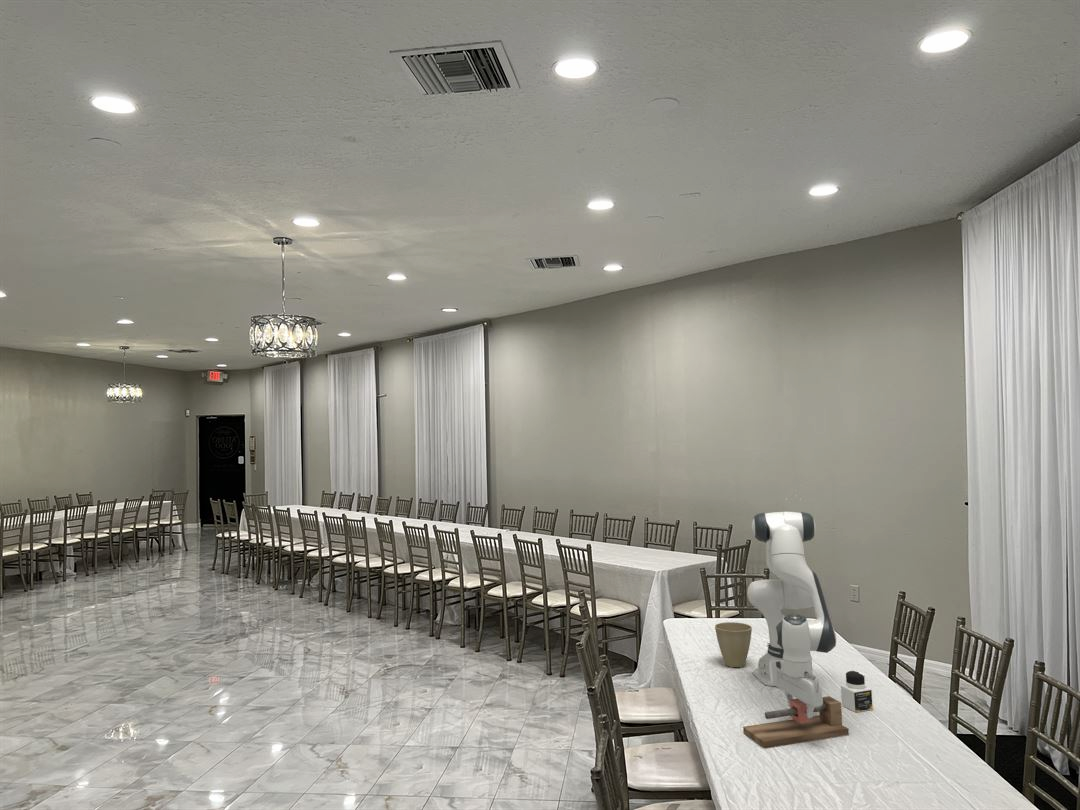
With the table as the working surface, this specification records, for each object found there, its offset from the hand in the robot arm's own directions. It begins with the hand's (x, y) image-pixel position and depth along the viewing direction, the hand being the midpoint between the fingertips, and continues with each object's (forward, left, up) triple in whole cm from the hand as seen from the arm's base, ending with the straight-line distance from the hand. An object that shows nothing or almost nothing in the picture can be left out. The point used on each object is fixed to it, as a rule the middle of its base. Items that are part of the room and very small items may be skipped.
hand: (800, 711), depth 228 cm
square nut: (0, 0, -3) cm, 3 cm away
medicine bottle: (-12, +30, -7) cm, 33 cm away
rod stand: (0, -2, -7) cm, 7 cm away
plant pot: (-67, +14, -7) cm, 69 cm away
